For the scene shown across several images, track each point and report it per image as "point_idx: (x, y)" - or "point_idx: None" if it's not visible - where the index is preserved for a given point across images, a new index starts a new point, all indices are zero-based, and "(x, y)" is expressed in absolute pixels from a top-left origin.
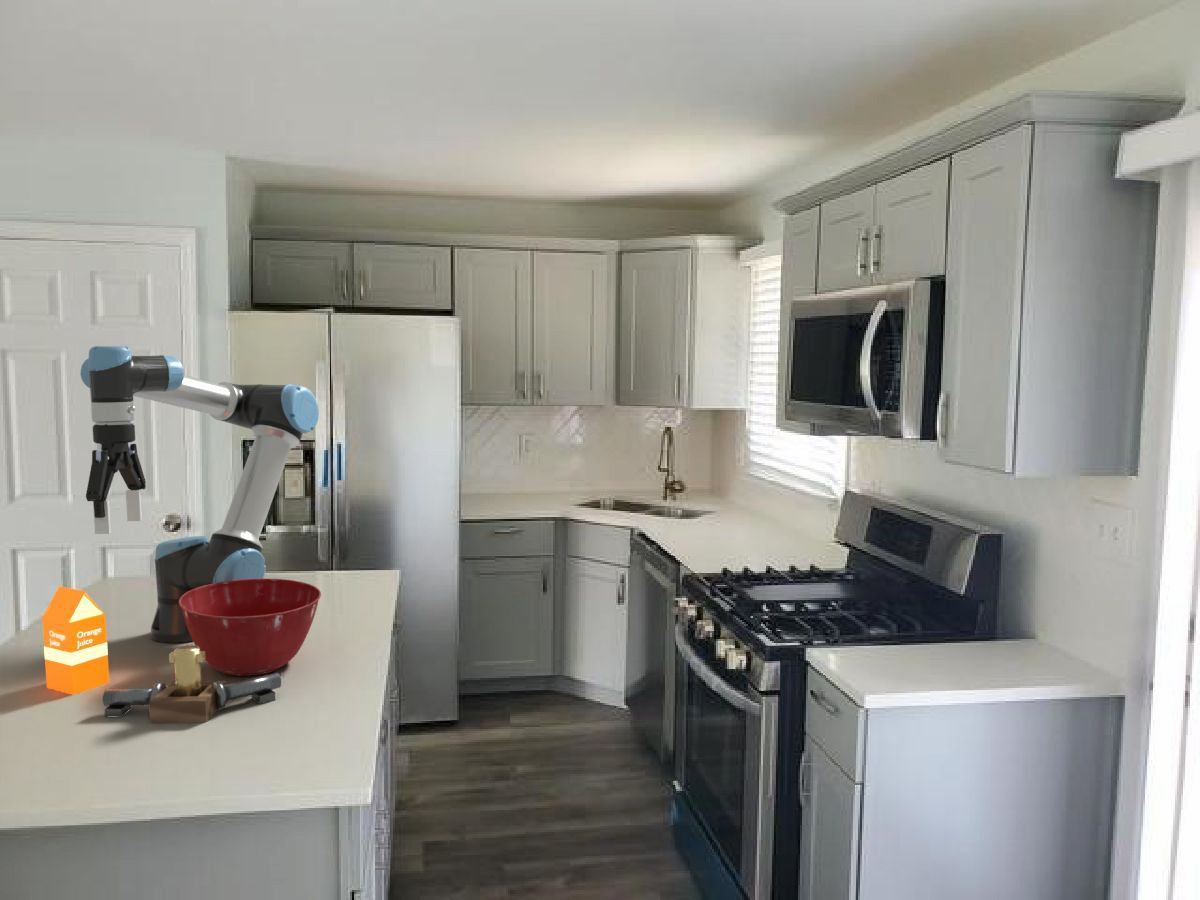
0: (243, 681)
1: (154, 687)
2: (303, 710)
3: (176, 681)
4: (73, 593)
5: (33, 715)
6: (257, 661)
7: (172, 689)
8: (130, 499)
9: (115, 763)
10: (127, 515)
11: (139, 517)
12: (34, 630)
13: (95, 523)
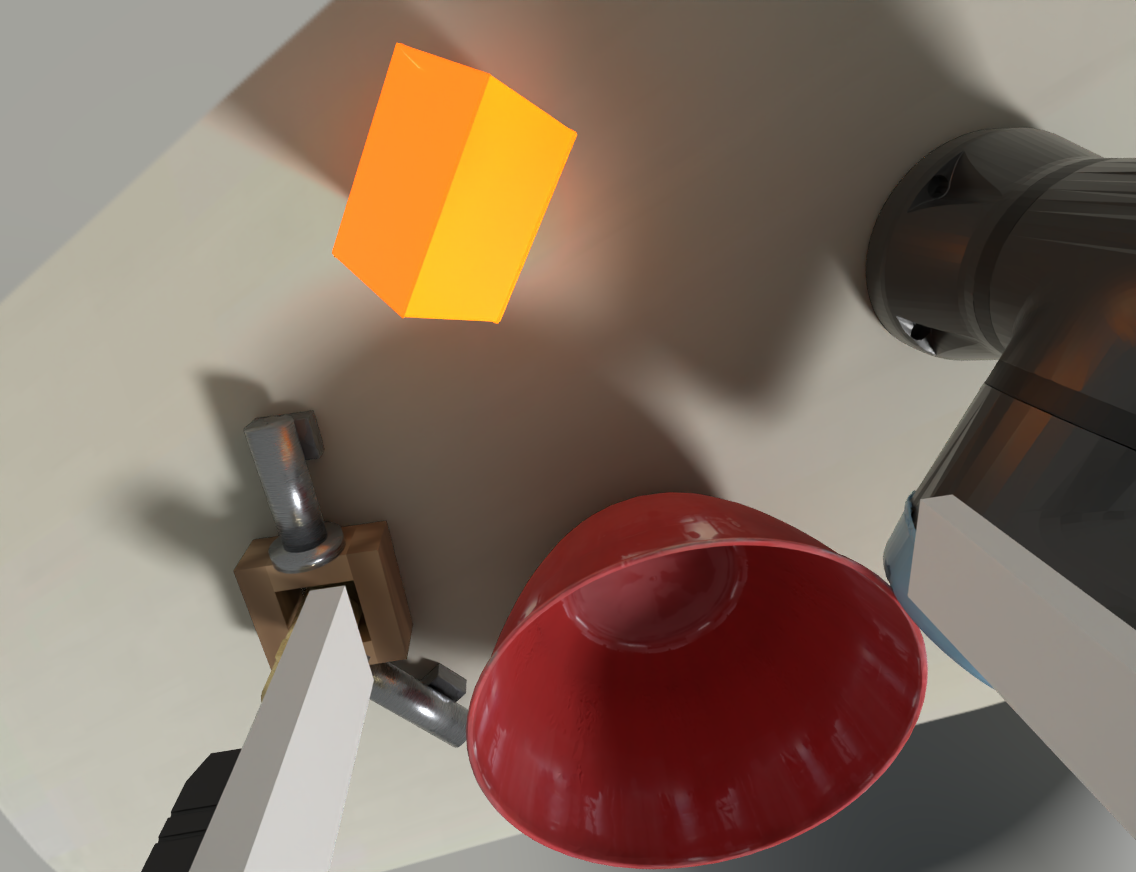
0: (394, 706)
1: (281, 565)
2: (390, 771)
3: (292, 623)
4: (420, 227)
5: (214, 207)
6: (545, 668)
7: (325, 578)
8: (1082, 681)
9: (36, 589)
10: (953, 531)
11: (928, 610)
12: None
13: (281, 668)
